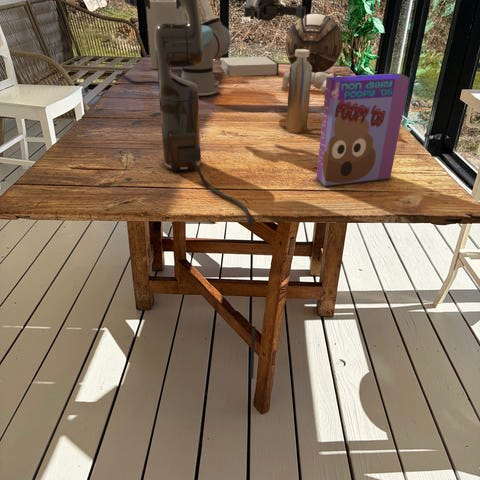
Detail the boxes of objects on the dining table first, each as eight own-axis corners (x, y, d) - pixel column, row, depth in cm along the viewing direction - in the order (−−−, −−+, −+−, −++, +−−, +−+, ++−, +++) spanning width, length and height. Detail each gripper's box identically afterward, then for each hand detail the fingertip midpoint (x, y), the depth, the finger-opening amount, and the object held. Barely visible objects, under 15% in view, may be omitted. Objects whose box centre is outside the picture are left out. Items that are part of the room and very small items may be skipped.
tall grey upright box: (195, 63, 233) (193, -1, 218) (192, 69, 220) (189, 2, 206) (156, 62, 233) (152, -2, 219) (150, 68, 221) (145, 1, 206)
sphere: (341, 70, 223) (348, 11, 211) (336, 82, 203) (343, 17, 190) (288, 66, 229) (292, 9, 216) (278, 77, 208) (281, 14, 196)
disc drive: (278, 75, 213) (279, 63, 210) (229, 76, 208) (229, 64, 206) (267, 67, 228) (267, 55, 225) (221, 68, 223) (221, 57, 220)
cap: (309, 55, 138) (309, 49, 137) (309, 57, 135) (309, 51, 134) (294, 54, 139) (295, 48, 138) (294, 57, 135) (295, 51, 134)
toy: (311, 101, 176) (313, 82, 172) (274, 86, 194) (275, 69, 190) (361, 94, 186) (364, 75, 182) (322, 80, 204) (323, 63, 201)
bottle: (306, 127, 150) (313, 50, 138) (306, 133, 145) (313, 54, 133) (286, 126, 151) (291, 49, 139) (285, 132, 145) (290, 53, 134)
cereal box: (324, 186, 112) (336, 81, 99) (316, 178, 116) (326, 76, 103) (390, 178, 116) (409, 77, 103) (379, 171, 120) (397, 72, 107)
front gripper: (134, -56, 131) (139, 10, 139) (185, -55, 133) (188, 9, 142) (133, -55, 137) (139, 7, 145) (183, -55, 140) (186, 7, 148)
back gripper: (299, 19, 169) (319, 26, 151) (230, 20, 165) (242, 28, 147) (300, -5, 165) (321, 0, 147) (229, -4, 161) (242, 1, 143)
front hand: (163, 8), depth 144 cm, fingers open, 8 cm apart
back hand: (281, 14), depth 147 cm, fingers open, 13 cm apart
